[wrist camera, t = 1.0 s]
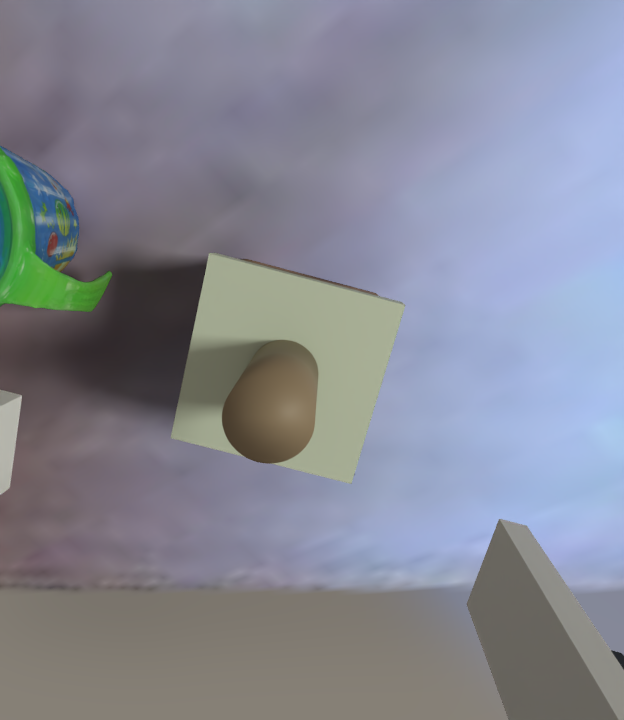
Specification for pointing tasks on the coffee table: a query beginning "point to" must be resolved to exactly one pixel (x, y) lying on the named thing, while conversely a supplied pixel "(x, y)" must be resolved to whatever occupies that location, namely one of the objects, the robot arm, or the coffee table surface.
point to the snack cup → (39, 241)
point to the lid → (284, 367)
